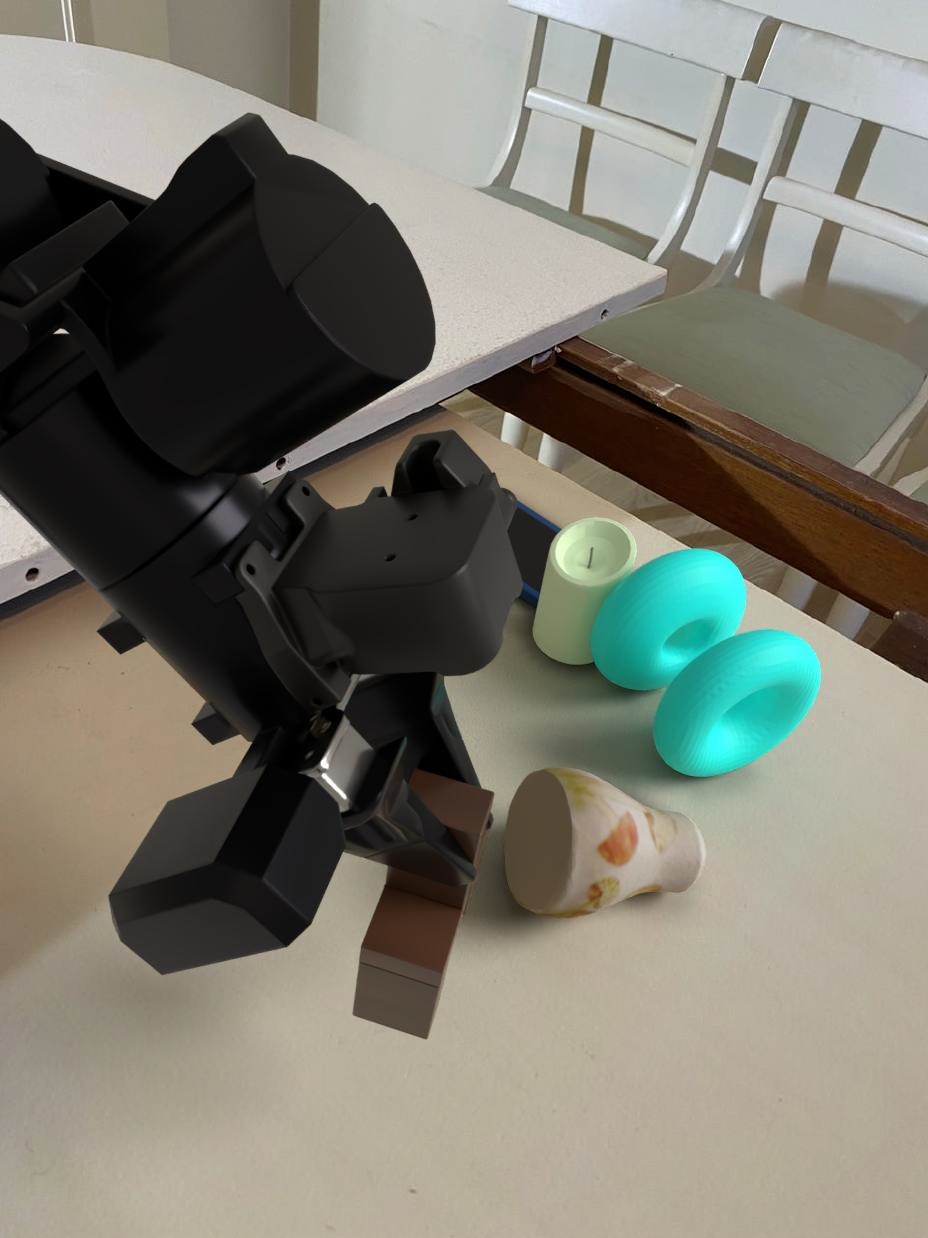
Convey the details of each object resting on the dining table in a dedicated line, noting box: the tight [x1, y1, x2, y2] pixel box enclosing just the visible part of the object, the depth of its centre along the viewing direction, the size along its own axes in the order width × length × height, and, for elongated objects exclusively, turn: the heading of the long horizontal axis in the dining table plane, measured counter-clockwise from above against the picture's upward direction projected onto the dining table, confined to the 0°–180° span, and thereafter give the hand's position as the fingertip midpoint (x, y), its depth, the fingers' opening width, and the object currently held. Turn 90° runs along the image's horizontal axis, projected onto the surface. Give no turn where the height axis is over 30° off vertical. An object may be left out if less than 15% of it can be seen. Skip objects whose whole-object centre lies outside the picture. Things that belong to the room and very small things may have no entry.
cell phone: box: [507, 499, 563, 609], centre depth 71 cm, size 7×14×1 cm, turn 47°
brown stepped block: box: [352, 768, 495, 1040], centre depth 38 cm, size 7×3×10 cm, turn 165°
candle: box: [532, 516, 638, 666], centre depth 63 cm, size 5×5×8 cm
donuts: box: [591, 548, 822, 778], centre depth 58 cm, size 10×10×10 cm
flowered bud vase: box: [503, 766, 707, 919], centre depth 51 cm, size 8×10×10 cm
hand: (474, 854), depth 37 cm, fingers closed on brown stepped block, 2 cm apart
